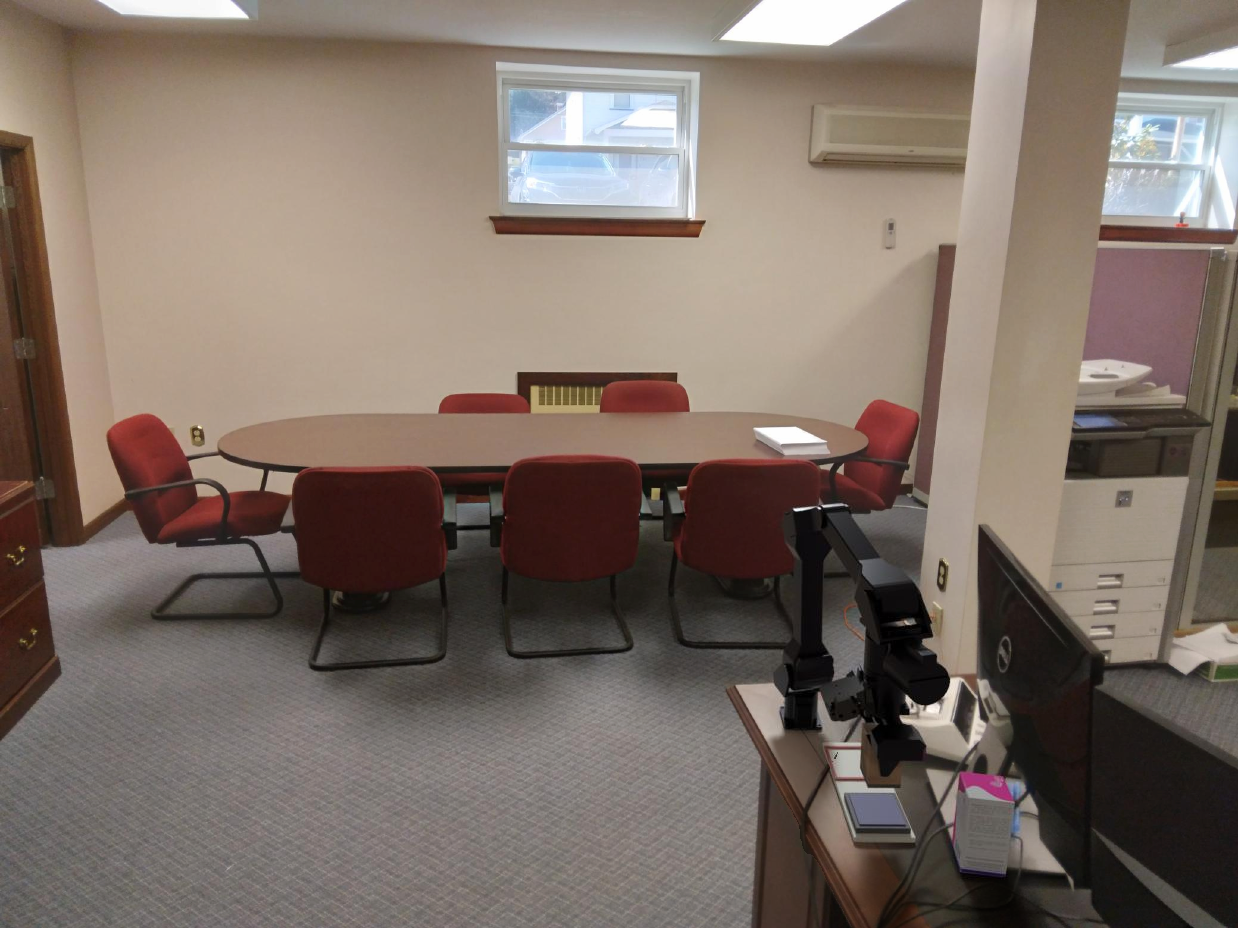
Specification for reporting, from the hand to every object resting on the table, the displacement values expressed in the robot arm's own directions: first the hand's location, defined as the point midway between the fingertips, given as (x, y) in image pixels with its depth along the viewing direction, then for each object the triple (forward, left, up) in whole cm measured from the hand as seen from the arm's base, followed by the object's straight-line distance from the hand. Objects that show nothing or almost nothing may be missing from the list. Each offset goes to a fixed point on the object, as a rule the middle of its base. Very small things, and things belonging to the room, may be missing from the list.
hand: (879, 764), depth 111 cm
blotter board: (-7, 0, -9) cm, 11 cm away
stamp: (0, 0, -2) cm, 2 cm away
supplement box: (+7, +12, -10) cm, 17 cm away
